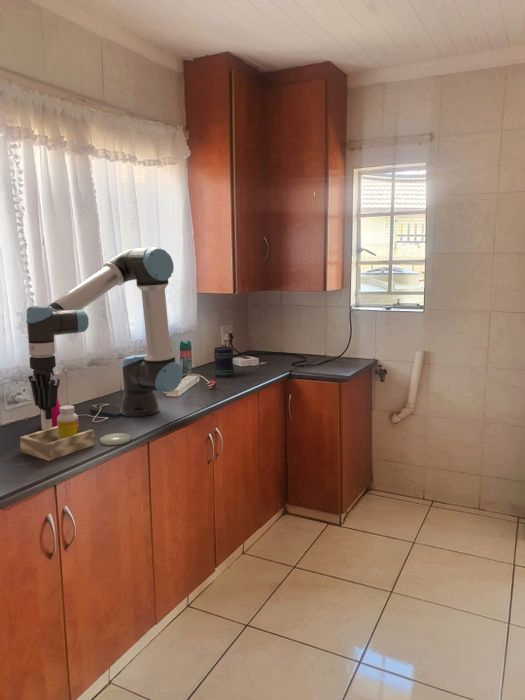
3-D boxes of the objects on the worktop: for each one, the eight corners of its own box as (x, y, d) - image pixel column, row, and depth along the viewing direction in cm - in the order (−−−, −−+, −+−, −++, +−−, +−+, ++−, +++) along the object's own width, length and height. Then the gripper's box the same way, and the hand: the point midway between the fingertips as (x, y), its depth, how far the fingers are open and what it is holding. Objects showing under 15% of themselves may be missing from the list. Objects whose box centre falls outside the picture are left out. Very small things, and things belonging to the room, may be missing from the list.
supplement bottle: (80, 446, 183) (78, 408, 181) (59, 449, 180) (56, 410, 178) (78, 440, 189) (76, 403, 187) (58, 443, 186) (55, 406, 184)
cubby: (67, 437, 192) (66, 423, 191) (94, 444, 184) (93, 430, 183) (20, 452, 178) (19, 437, 177) (49, 460, 170) (47, 445, 169)
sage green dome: (116, 434, 195) (116, 431, 195) (137, 439, 189) (136, 436, 189) (94, 442, 187) (93, 439, 186) (114, 447, 181) (114, 444, 181)
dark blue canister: (226, 379, 281) (225, 350, 279) (210, 377, 286) (210, 349, 284) (237, 375, 290) (236, 347, 287) (222, 374, 295) (221, 346, 292)
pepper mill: (66, 422, 210) (63, 370, 207) (60, 428, 203) (56, 374, 200) (47, 422, 210) (43, 371, 207) (40, 428, 203) (36, 375, 199)
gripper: (19, 355, 174) (24, 428, 177) (44, 359, 167) (49, 434, 170) (40, 352, 180) (44, 422, 183) (65, 355, 173) (70, 428, 176)
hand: (47, 428), depth 177 cm, fingers closed
